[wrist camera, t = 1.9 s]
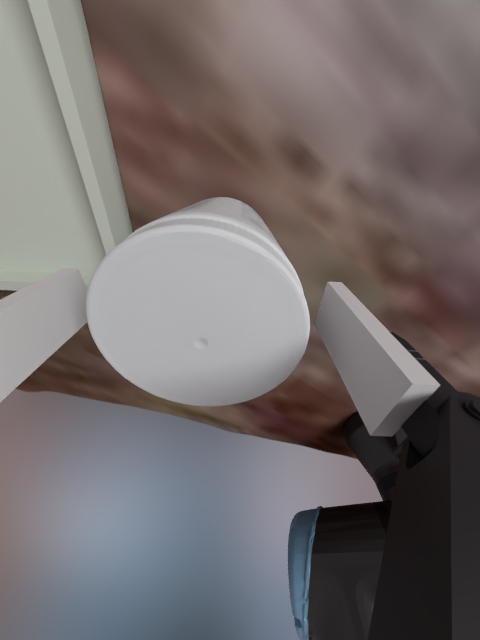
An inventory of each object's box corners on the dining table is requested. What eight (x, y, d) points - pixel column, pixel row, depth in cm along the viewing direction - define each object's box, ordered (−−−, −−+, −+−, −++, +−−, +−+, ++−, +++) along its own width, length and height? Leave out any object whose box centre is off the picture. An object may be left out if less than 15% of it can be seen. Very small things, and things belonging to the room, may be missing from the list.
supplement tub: (180, 288, 23) (110, 404, 11) (172, 190, 18) (20, 204, 6) (264, 295, 24) (287, 416, 11) (280, 201, 18) (353, 235, 6)
